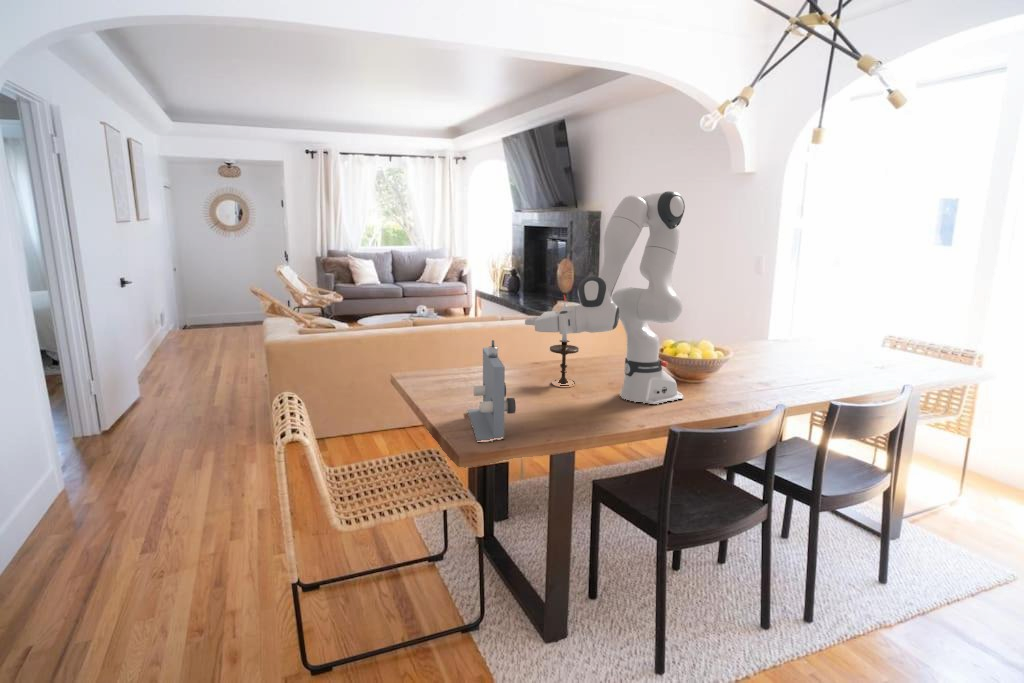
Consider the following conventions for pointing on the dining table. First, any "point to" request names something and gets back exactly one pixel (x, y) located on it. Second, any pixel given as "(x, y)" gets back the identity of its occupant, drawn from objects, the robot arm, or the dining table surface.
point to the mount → (494, 380)
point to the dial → (492, 351)
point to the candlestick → (564, 353)
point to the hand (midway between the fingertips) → (525, 321)
